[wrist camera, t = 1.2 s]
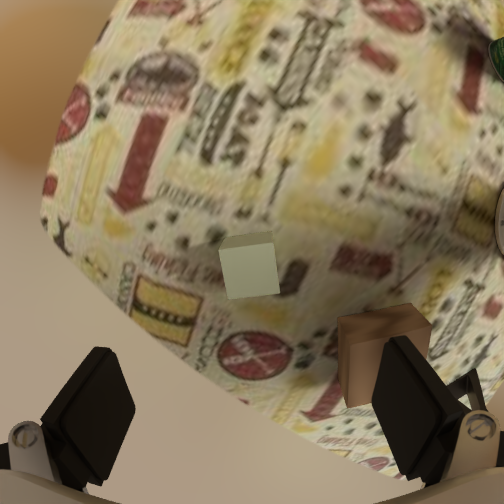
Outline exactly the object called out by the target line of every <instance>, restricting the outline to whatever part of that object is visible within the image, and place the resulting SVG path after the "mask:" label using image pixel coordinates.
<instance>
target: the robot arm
mask: <svg viewBox="0 0 504 504" xmlns="http://www.w3.org/2000/svg"><path fill="white" fill-rule="evenodd" d="M495 234H496V240H497V244H498V247H499V249H500V251H501V253H502V254H503V255H504V188H503V190H502V192H501V195H500V197H499V200H498V204H497V209H496V215H495ZM371 401H372V407H373V409H374V411H375V414H376V416H377V418H378V421H379V423H380V425H381V427H382V430H383V432H384V435H385V437H386V439H387V442H388V444H389V447H390V449H391V451H392V454H393V456H394V459H395V461H396V464H397V466H398V469H399V471H400V473H401V474H402V475H406V478H407V480H408V481H410V480H412V479H415V478H418V477H421V480H422V482H423V484H422V486H421V489H420V490H418V491H415V492H412V493H409V494H406V495H403V496H400V497H396V498H393V499H390V500H386V501H382V502H379V503H375V504H504V431H500V424H499V421H498V419H497V418H496V417H495V416H494V415H493V414H491V413H489V412H487V411H483V410H476V411H472V412H470V413H468V414H467V415H465V413H464V412H463V409H462V407H461V406H460V404H459V403H458V402H457V400H456V399H455V397H454V396H453V395H452V393H451V392H450V391H449V389H448V388H447V387H446V385H445V384H444V383H443V381H442V380H441V379H440V377H439V376H438V375H437V373H436V372H435V371H434V369H433V368H432V367H431V366H430V364H429V363H428V362H427V360H426V359H425V358H424V357H423V355H422V354H421V353H420V352H419V350H418V349H417V348H416V347H415V345H414V344H413V343H412V342H411V340H410V339H409V338H408V337H407V336H406V335H402V336H396V337H391V338H390V339H389V340H388V342H386V343H385V344H384V347H383V352H382V357H381V362H380V366H379V370H378V375H377V379H376V383H375V387H374V391H373V394H372V399H371ZM134 414H135V404H134V402H133V399H132V396H131V394H130V391H129V389H128V386H127V384H126V381H125V378H124V376H123V373H122V370H121V367H120V364H119V362H118V359H117V356H116V354H115V353H114V352H112V350H111V349H110V348H107V347H94V348H93V349H92V350H91V352H90V353H89V354H88V355H87V357H86V358H85V359H84V361H83V362H82V363H81V365H80V366H79V367H78V368H77V370H76V371H75V372H74V374H73V375H72V376H71V378H70V379H69V380H68V381H67V383H66V384H65V385H64V387H63V388H62V390H61V391H60V392H59V394H58V395H57V396H56V398H55V399H54V400H53V402H52V403H51V405H50V406H49V407H48V409H47V410H46V412H45V413H44V414H43V416H42V418H41V419H40V420H41V421H42V425H41V426H39V425H38V424H37V423H35V422H33V421H24V422H21V423H18V424H17V425H15V426H14V427H13V428H12V430H11V431H10V433H9V437H8V443H4V444H0V504H120V503H116V502H112V501H109V500H106V499H102V498H99V497H96V496H92V495H89V493H88V491H87V488H86V484H87V482H89V483H91V484H95V485H98V486H102V484H103V481H104V480H107V479H108V477H109V475H110V472H111V470H112V467H113V465H114V462H115V460H116V458H117V455H118V453H119V450H120V447H121V445H122V443H123V440H124V438H125V435H126V433H127V431H128V428H129V426H130V423H131V421H132V419H133V417H134Z"/></svg>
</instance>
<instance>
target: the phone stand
mask: <svg viewBox="0 0 504 504" xmlns="http://www.w3.org/2000/svg"><path fill="white" fill-rule="evenodd" d="M446 387H447V388H448V389H449V391H450V392H451V393H452V395H453V396H454V397H455V399H456V400H457V402H458V403H459V404H460V406H461V407H462V409H463V412H464V413H465V415H467V414H468V413H470V412H472V411H476V410H483V411H487V412H488V410H487V409H486V406H485V402H484V398H483V393H482V389H481V385H480V382H479V378H478V374H477V371H476V369H475V368H474V369H472V370H471V371H469V372H468V373H466V374H465V375H463V376H462V377H460V378H459V379H457V380H456V381H454V382H452V383H451V384H449V385H447V386H446ZM465 394H467V395H468V398H469V401H470V405H471V408H472V410H471V409H469V408H468V407H467V406H465V405H464V404H463V403H461V402H460V401H459V400H458V399H459V398H461V397H462V396H464V395H465Z"/></svg>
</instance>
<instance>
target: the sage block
mask: <svg viewBox="0 0 504 504" xmlns="http://www.w3.org/2000/svg"><path fill="white" fill-rule="evenodd" d="M218 251H219V256H220V262H221V267H222V272H223V277H224V282H225V287H226V292H227V297H228V300H231V299H240V298H248V297H256V296H264V295H271V294H279V293H280V288H279V281H278V273H277V266H276V258H275V251H274V244H273V237H272V231H267V232H260V233H253V234H246V235H239V236H232V237H225V238H224V240H223V242H222V244H221V246H220V248H219V250H218Z"/></svg>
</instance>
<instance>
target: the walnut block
mask: <svg viewBox="0 0 504 504" xmlns="http://www.w3.org/2000/svg"><path fill="white" fill-rule="evenodd" d="M431 330H432V325H431V323H430V322H429V321H428V320H427V319H426V318H425V317H424V316H423V315H422V314H421V313H420V312H419V311H418V310H417V309H416V308H415V307H414V306H413V305H412V304H411V303H408V304H403V305H399V306H394V307H389V308H385V309H380V310H375V311H370V312H365V313H359V314H354V315H349V316H343V317H338V381H339V384H340V387H341V390H342V393H343V396H344V400H345V403H346V406H347V408H351V407H356V406H360V405H365V404H369V403H372V401H371V399H372V394H373V391H374V387H375V383H376V379H377V375H378V370H379V366H380V362H381V357H382V352H383V347H384V344H385V343H386V342H388V340H389V339H390V338H391V337H396V336H402V335H406V336H407V337H408V338H409V339H410V340H411V342H412V343H413V344H414V345H415V347H416V348H417V349H418V350H419V352H420V353H421V354H422V355H423V357H424V358H425V359H426V358H427V353H428V348H429V342H430V336H431Z"/></svg>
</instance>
